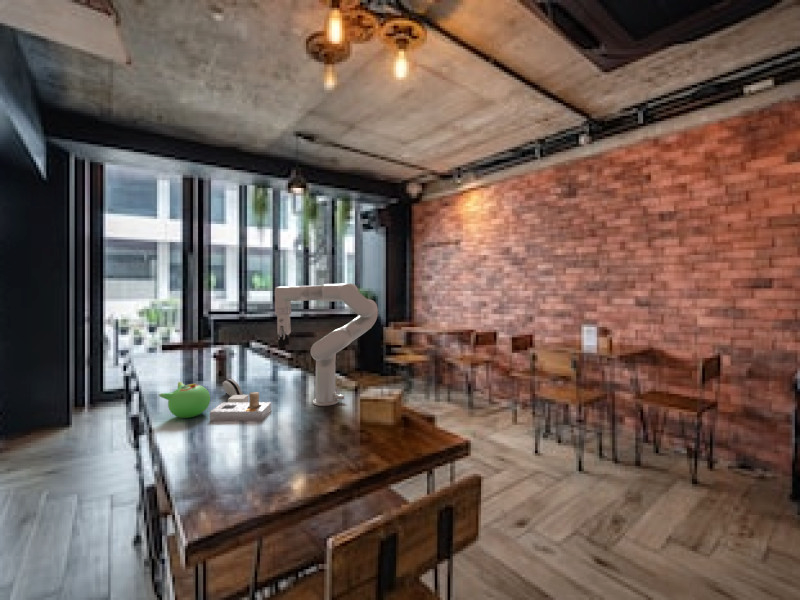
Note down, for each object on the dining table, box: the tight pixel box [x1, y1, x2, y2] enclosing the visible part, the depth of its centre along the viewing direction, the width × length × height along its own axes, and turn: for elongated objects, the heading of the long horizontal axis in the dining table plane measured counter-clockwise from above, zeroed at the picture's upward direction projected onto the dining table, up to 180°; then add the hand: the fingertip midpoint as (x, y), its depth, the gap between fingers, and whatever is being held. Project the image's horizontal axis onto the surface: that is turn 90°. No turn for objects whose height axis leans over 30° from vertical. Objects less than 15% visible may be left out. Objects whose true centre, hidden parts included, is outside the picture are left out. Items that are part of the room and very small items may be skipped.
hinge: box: [222, 378, 246, 397], centre depth 217 cm, size 17×5×10 cm, turn 41°
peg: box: [248, 391, 260, 409], centre depth 184 cm, size 4×4×10 cm
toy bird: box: [158, 381, 211, 419], centre depth 183 cm, size 18×17×15 cm
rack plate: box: [209, 401, 272, 422], centre depth 184 cm, size 22×14×4 cm, turn 92°
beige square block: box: [227, 394, 249, 403], centre depth 197 cm, size 7×7×5 cm
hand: (283, 346), depth 206 cm, fingers open, 9 cm apart
